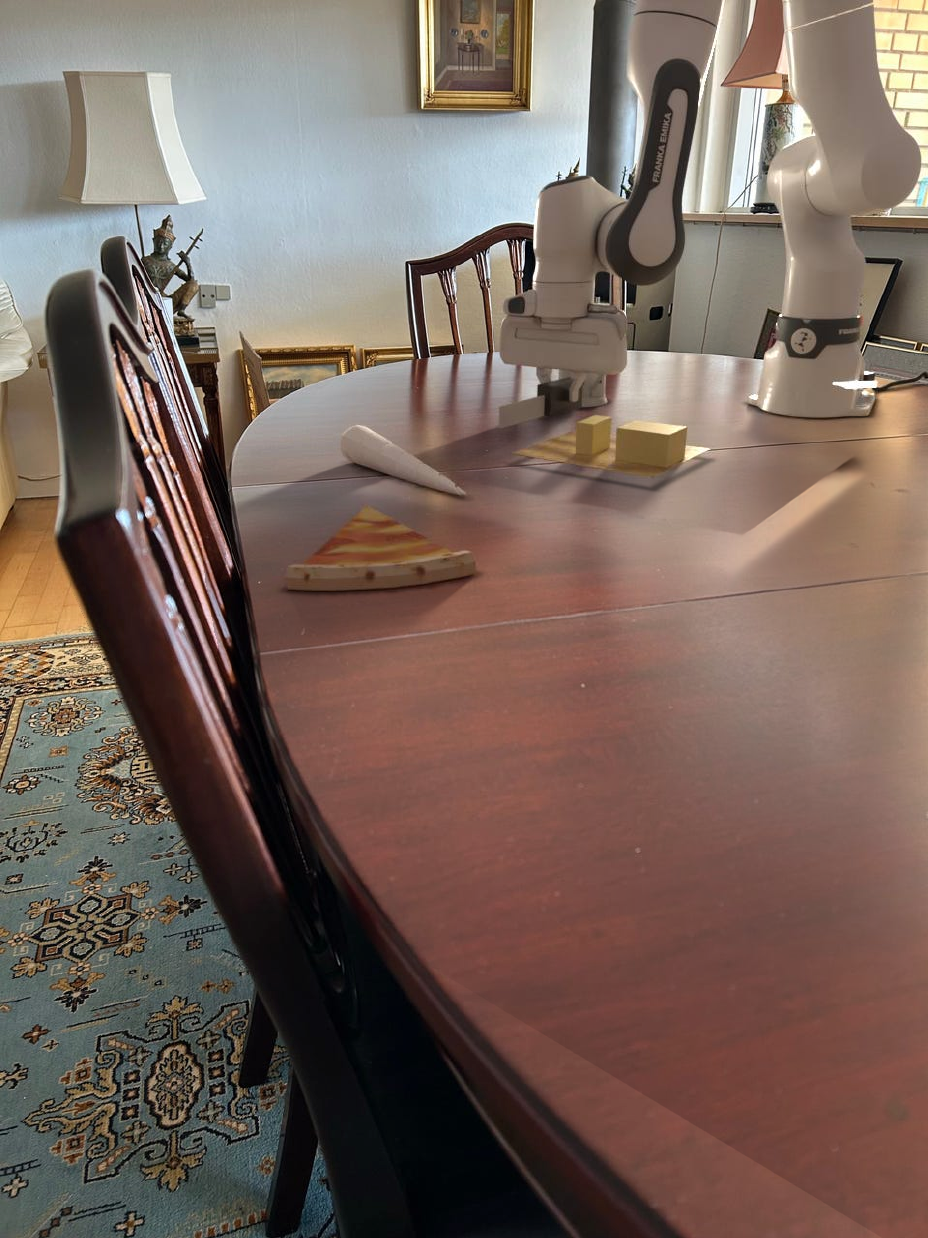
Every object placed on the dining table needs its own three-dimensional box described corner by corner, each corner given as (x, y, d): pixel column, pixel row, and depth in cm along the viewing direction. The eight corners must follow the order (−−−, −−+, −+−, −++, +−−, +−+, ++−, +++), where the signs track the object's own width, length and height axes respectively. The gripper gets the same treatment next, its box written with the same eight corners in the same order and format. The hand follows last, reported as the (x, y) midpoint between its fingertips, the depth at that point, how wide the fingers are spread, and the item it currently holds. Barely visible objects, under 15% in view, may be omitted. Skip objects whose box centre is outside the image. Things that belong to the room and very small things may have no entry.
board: (576, 439, 127) (576, 429, 126) (709, 459, 115) (710, 448, 115) (511, 464, 115) (511, 453, 115) (652, 489, 104) (653, 477, 103)
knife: (568, 405, 138) (569, 376, 136) (581, 407, 137) (583, 378, 135) (492, 427, 124) (493, 395, 122) (506, 429, 122) (507, 396, 121)
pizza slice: (507, 520, 95) (507, 502, 94) (459, 603, 75) (458, 581, 74) (367, 512, 98) (365, 495, 97) (286, 590, 79) (284, 569, 78)
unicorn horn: (439, 505, 100) (437, 463, 98) (339, 463, 118) (336, 427, 116) (473, 497, 102) (472, 456, 100) (370, 457, 120) (368, 421, 118)
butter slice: (593, 445, 117) (594, 414, 116) (609, 447, 116) (611, 416, 115) (575, 453, 114) (576, 422, 112) (592, 455, 112) (593, 424, 111)
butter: (633, 451, 114) (635, 419, 113) (684, 458, 110) (687, 426, 109) (614, 459, 111) (616, 427, 109) (666, 467, 107) (669, 434, 105)
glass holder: (593, 395, 156) (596, 304, 149) (632, 410, 143) (637, 312, 137) (547, 399, 153) (548, 307, 147) (582, 415, 141) (586, 315, 135)
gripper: (638, 303, 124) (632, 403, 130) (517, 297, 136) (516, 389, 142) (616, 307, 120) (611, 411, 126) (493, 300, 131) (493, 395, 137)
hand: (560, 399), depth 134 cm, fingers closed on knife, 2 cm apart
